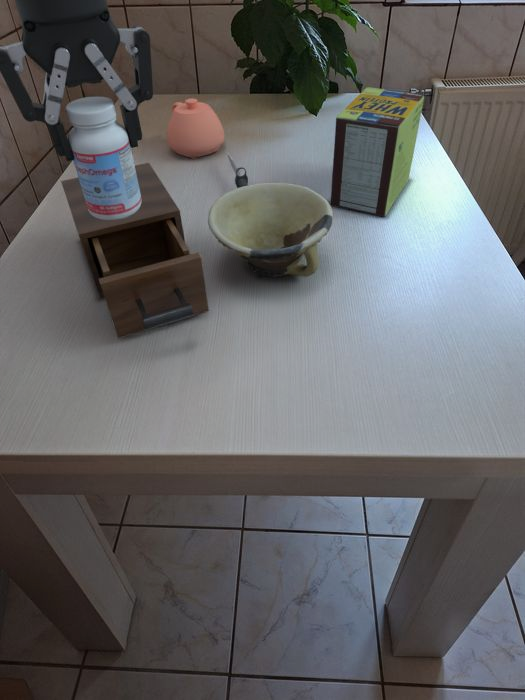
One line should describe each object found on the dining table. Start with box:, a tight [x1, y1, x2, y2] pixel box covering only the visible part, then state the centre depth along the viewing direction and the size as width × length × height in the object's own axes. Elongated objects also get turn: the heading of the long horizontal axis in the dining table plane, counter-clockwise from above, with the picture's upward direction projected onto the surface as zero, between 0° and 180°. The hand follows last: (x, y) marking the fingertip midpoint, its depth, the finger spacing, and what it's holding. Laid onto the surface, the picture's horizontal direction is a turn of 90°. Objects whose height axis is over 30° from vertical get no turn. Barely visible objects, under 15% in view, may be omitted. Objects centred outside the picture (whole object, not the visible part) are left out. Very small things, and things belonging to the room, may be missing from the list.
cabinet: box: [60, 162, 186, 299], centre depth 76 cm, size 17×14×11 cm
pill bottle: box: [65, 96, 142, 220], centre depth 53 cm, size 6×6×11 cm
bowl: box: [207, 182, 334, 278], centre depth 73 cm, size 18×18×10 cm
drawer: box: [91, 218, 210, 339], centre depth 67 cm, size 21×13×9 cm, turn 24°
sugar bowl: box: [166, 98, 226, 160], centre depth 105 cm, size 12×14×10 cm
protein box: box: [329, 86, 425, 218], centre depth 87 cm, size 10×15×16 cm
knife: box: [226, 151, 249, 189], centre depth 93 cm, size 19×2×5 cm, turn 16°
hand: (101, 150), depth 52 cm, fingers closed on pill bottle, 6 cm apart
